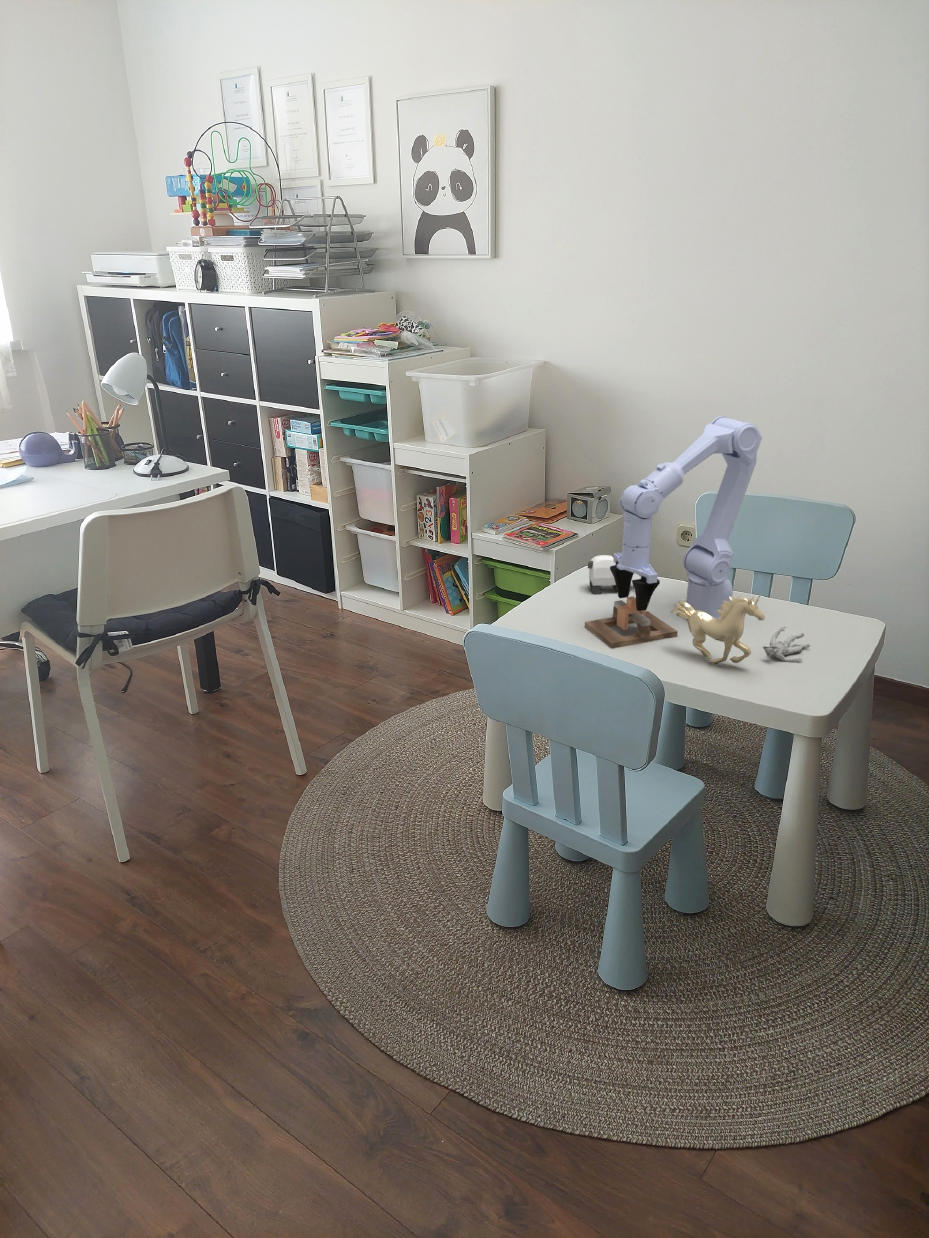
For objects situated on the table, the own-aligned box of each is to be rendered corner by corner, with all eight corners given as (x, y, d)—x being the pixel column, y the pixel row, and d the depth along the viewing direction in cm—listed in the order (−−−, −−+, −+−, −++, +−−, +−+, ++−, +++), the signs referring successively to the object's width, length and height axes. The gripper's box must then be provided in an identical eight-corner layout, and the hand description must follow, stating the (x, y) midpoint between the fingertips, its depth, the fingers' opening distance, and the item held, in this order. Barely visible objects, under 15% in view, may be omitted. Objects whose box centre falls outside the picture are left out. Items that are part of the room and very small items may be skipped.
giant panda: (588, 595, 214) (590, 557, 210) (584, 586, 219) (586, 550, 215) (648, 593, 215) (651, 555, 211) (643, 584, 220) (645, 548, 216)
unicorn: (662, 650, 186) (669, 573, 179) (672, 644, 188) (679, 568, 181) (751, 679, 173) (762, 598, 166) (761, 672, 175) (772, 592, 169)
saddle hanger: (637, 620, 196) (639, 594, 193) (644, 626, 193) (646, 599, 191) (616, 624, 194) (618, 597, 192) (623, 629, 192) (625, 602, 189)
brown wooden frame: (647, 616, 202) (649, 595, 200) (677, 636, 192) (679, 614, 190) (584, 627, 197) (585, 606, 195) (611, 648, 187) (613, 626, 185)
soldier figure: (817, 658, 184) (793, 659, 175) (796, 668, 186) (771, 670, 178) (800, 625, 186) (775, 624, 177) (780, 635, 189) (754, 635, 180)
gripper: (602, 535, 191) (599, 594, 197) (638, 556, 179) (633, 618, 184) (631, 531, 193) (627, 590, 199) (668, 552, 181) (663, 613, 186)
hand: (632, 603), depth 192 cm, fingers open, 7 cm apart
